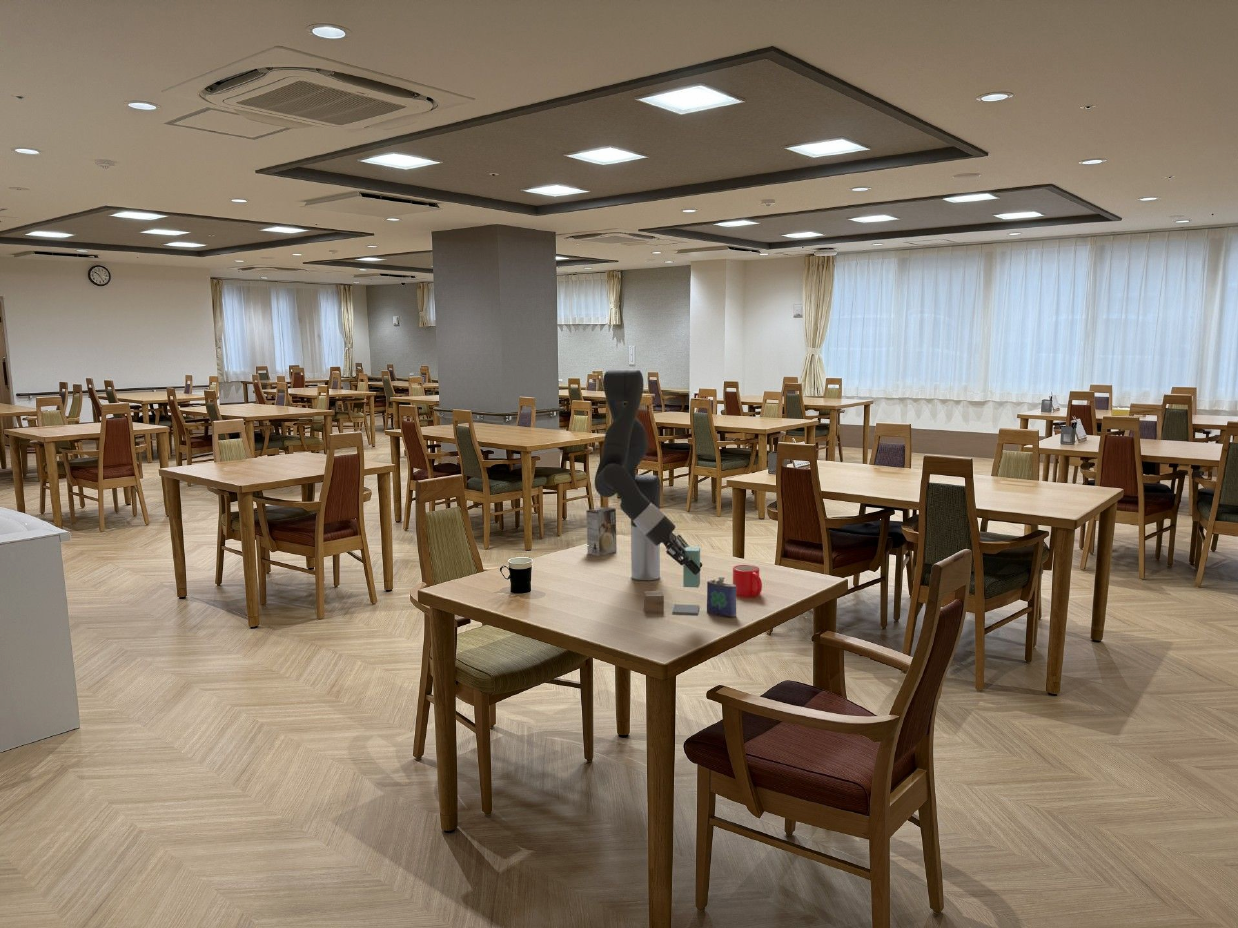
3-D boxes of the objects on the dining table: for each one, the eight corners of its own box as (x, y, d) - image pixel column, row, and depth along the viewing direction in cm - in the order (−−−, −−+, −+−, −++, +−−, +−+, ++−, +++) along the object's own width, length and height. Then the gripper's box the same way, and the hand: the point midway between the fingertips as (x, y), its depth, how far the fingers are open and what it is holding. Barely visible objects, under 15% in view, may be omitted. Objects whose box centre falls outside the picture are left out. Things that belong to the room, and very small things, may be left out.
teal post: (685, 582, 234) (685, 546, 233) (700, 583, 233) (700, 547, 232) (683, 586, 230) (683, 550, 229) (698, 587, 229) (698, 550, 228)
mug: (750, 602, 251) (750, 575, 250) (727, 591, 262) (727, 566, 261) (772, 598, 255) (773, 572, 254) (749, 588, 266) (749, 563, 264)
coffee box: (604, 549, 318) (603, 506, 316) (617, 551, 314) (616, 508, 312) (586, 553, 312) (585, 509, 309) (599, 556, 307) (598, 512, 305)
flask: (738, 616, 239) (738, 578, 237) (732, 619, 236) (732, 580, 235) (709, 610, 244) (709, 573, 243) (704, 612, 242) (703, 575, 241)
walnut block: (644, 608, 247) (644, 591, 247) (661, 607, 248) (661, 590, 247) (646, 613, 242) (645, 596, 242) (663, 612, 243) (663, 595, 242)
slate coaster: (674, 608, 248) (674, 604, 248) (699, 609, 247) (699, 605, 247) (672, 615, 242) (672, 611, 241) (697, 616, 240) (697, 612, 240)
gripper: (659, 520, 223) (706, 567, 223) (667, 509, 237) (711, 554, 237) (639, 539, 225) (686, 586, 225) (648, 527, 239) (692, 572, 239)
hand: (699, 569), depth 231 cm, fingers closed on teal post, 4 cm apart
